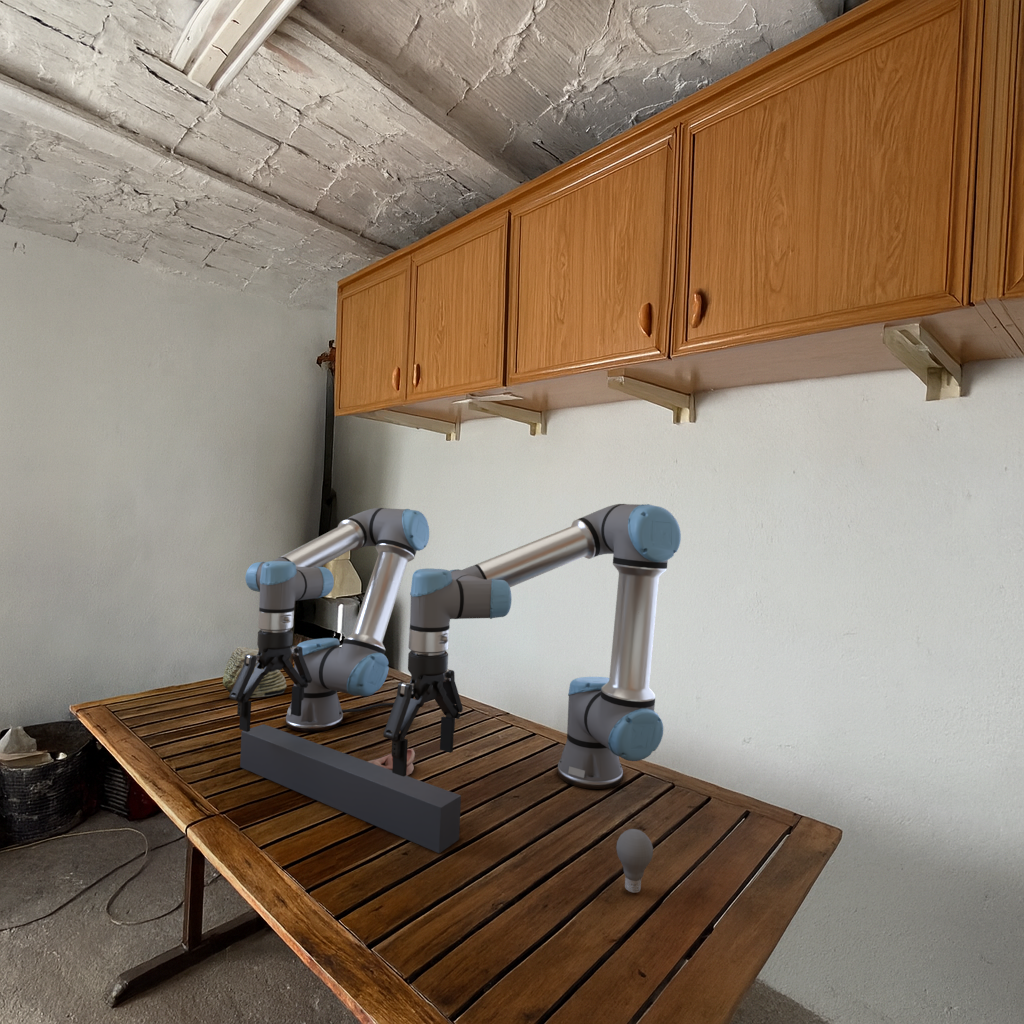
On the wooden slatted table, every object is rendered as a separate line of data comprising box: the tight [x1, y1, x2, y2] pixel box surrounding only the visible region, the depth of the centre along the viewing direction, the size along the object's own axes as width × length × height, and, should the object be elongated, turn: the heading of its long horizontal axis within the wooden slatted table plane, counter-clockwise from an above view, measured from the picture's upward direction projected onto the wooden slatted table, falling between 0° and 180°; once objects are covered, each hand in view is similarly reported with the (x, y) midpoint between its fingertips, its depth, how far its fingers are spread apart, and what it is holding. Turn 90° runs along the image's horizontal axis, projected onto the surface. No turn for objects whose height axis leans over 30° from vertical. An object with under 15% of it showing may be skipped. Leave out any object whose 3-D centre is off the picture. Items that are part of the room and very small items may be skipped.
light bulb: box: [615, 828, 654, 894], centre depth 106 cm, size 6×6×10 cm
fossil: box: [222, 646, 288, 699], centre depth 198 cm, size 9×18×15 cm, turn 132°
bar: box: [239, 723, 462, 854], centre depth 133 cm, size 59×6×8 cm, turn 57°
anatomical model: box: [367, 748, 416, 776], centre depth 147 cm, size 13×4×12 cm
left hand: (271, 722), depth 145 cm, fingers open, 13 cm apart
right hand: (423, 762), depth 120 cm, fingers open, 13 cm apart
